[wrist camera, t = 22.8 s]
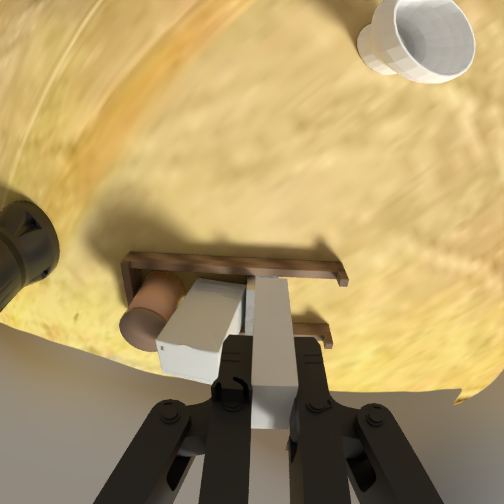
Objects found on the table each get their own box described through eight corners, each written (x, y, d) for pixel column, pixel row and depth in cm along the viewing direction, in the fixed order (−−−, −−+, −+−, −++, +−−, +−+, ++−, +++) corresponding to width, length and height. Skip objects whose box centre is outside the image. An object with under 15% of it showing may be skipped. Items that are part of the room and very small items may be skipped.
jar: (145, 305, 53) (124, 348, 43) (139, 268, 50) (114, 308, 40) (186, 308, 53) (172, 354, 43) (183, 271, 50) (165, 314, 40)
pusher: (246, 320, 53) (244, 345, 48) (248, 267, 49) (246, 289, 43) (273, 321, 53) (274, 346, 48) (278, 268, 49) (280, 291, 43)
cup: (418, 89, 35) (481, 93, 22) (347, 80, 36) (390, 73, 22) (415, 21, 31) (474, -1, 17) (344, 8, 31) (382, -29, 18)
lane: (141, 318, 54) (132, 336, 50) (129, 251, 48) (118, 267, 44) (327, 329, 54) (331, 348, 50) (341, 262, 48) (348, 279, 43)
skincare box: (199, 307, 53) (159, 373, 39) (197, 273, 50) (151, 337, 36) (248, 317, 51) (219, 389, 38) (249, 282, 48) (217, 354, 35)
